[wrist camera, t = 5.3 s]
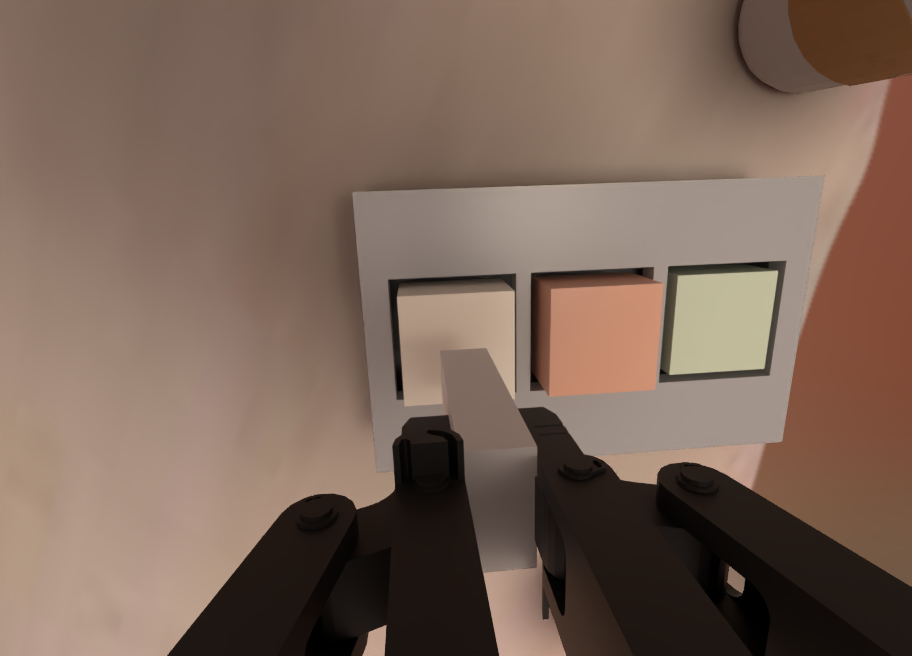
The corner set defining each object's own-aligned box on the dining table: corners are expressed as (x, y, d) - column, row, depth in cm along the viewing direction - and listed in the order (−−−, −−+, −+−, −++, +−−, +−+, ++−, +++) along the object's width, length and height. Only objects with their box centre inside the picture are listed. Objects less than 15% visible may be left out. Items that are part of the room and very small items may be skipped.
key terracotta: (532, 276, 21) (551, 289, 18) (629, 272, 21) (663, 283, 18) (531, 371, 22) (549, 396, 19) (623, 365, 22) (654, 389, 19)
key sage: (644, 266, 23) (678, 275, 20) (732, 261, 23) (778, 270, 20) (638, 353, 24) (669, 374, 21) (722, 348, 24) (764, 368, 21)
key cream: (399, 283, 20) (396, 296, 18) (500, 278, 21) (514, 290, 18) (406, 378, 22) (404, 406, 19) (501, 372, 22) (515, 399, 19)
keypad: (364, 193, 22) (351, 191, 18) (748, 180, 24) (824, 175, 19) (383, 425, 26) (376, 472, 21) (721, 402, 27) (781, 441, 22)
